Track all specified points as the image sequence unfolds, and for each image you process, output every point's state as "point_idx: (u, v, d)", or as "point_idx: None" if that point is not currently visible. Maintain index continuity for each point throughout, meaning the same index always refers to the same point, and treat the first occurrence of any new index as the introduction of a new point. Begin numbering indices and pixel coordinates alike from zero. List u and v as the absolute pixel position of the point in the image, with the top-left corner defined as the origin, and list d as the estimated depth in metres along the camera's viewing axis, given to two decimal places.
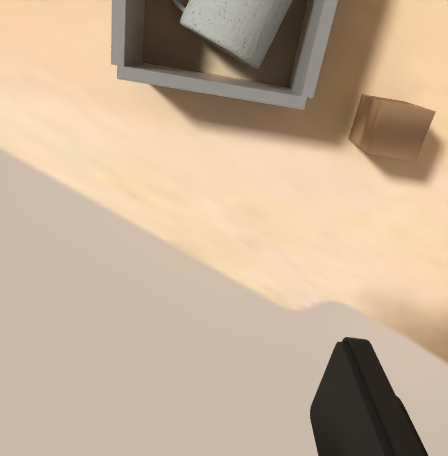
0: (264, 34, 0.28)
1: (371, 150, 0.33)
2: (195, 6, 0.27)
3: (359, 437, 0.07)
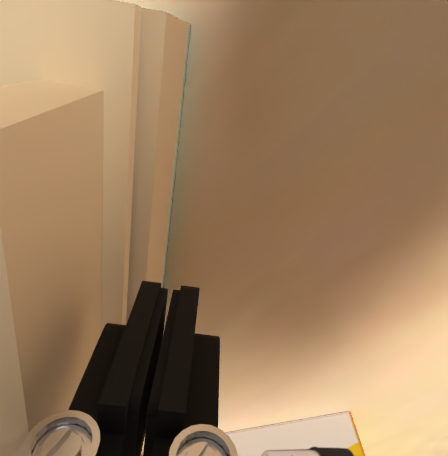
0: None
1: None
2: None
3: None
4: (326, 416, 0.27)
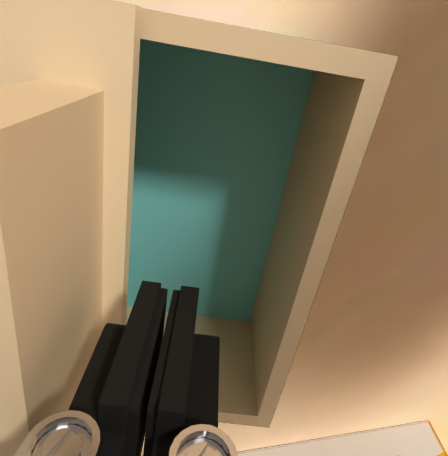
0: None
1: None
2: None
3: None
4: (405, 425, 0.28)
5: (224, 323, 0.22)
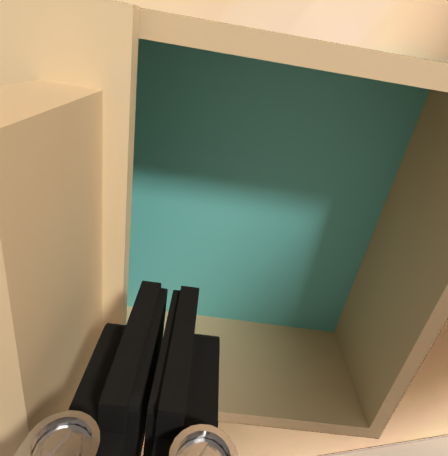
0: None
1: None
2: None
3: None
4: None
5: (310, 333, 0.22)
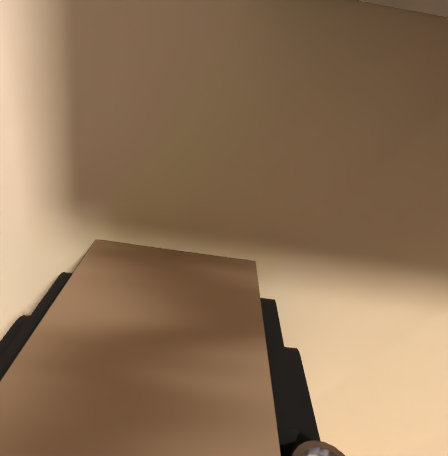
0: None
1: None
2: None
3: None
4: None
5: None
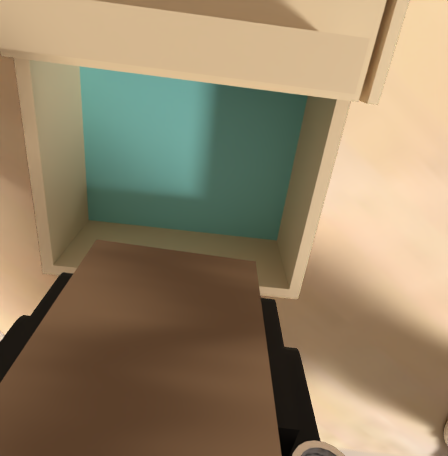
0: None
1: None
2: None
3: None
4: None
5: (85, 203, 0.26)
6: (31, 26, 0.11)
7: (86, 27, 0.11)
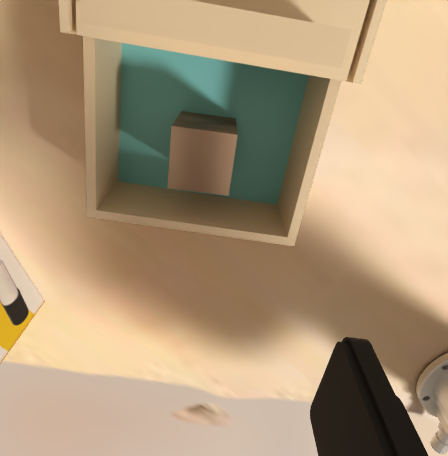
0: None
1: (176, 129, 0.24)
2: None
3: (359, 437, 0.07)
4: (36, 288, 0.39)
5: (117, 166, 0.31)
6: (122, 12, 0.16)
7: (160, 13, 0.16)
